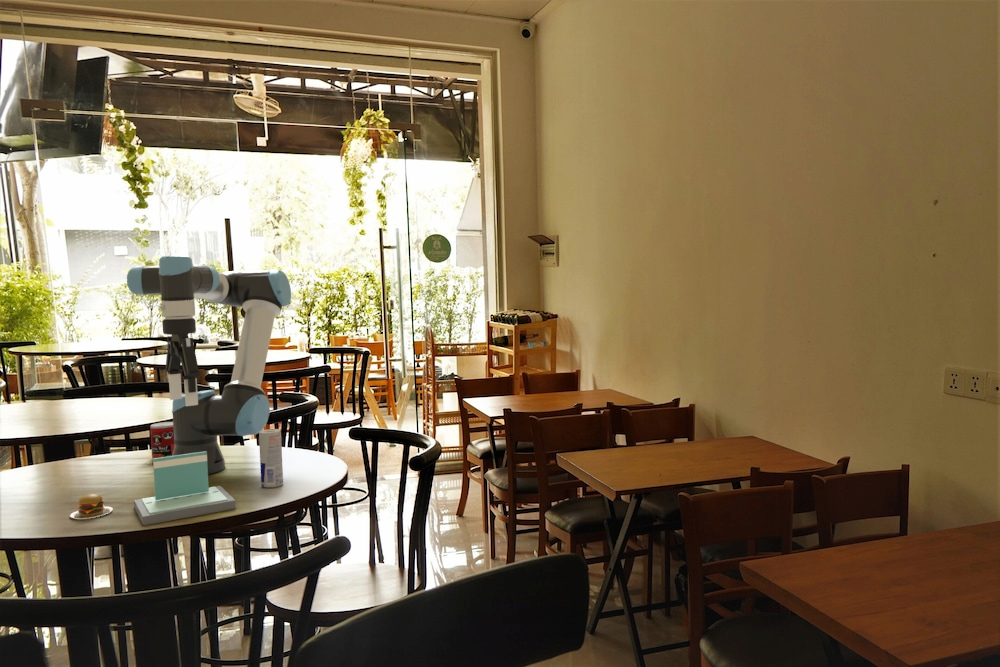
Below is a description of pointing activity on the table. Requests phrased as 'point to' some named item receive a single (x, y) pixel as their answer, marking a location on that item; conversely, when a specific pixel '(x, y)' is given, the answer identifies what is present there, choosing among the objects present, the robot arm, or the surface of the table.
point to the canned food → (162, 439)
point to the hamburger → (91, 507)
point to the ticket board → (183, 506)
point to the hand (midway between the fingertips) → (183, 402)
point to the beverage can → (271, 458)
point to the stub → (180, 475)
